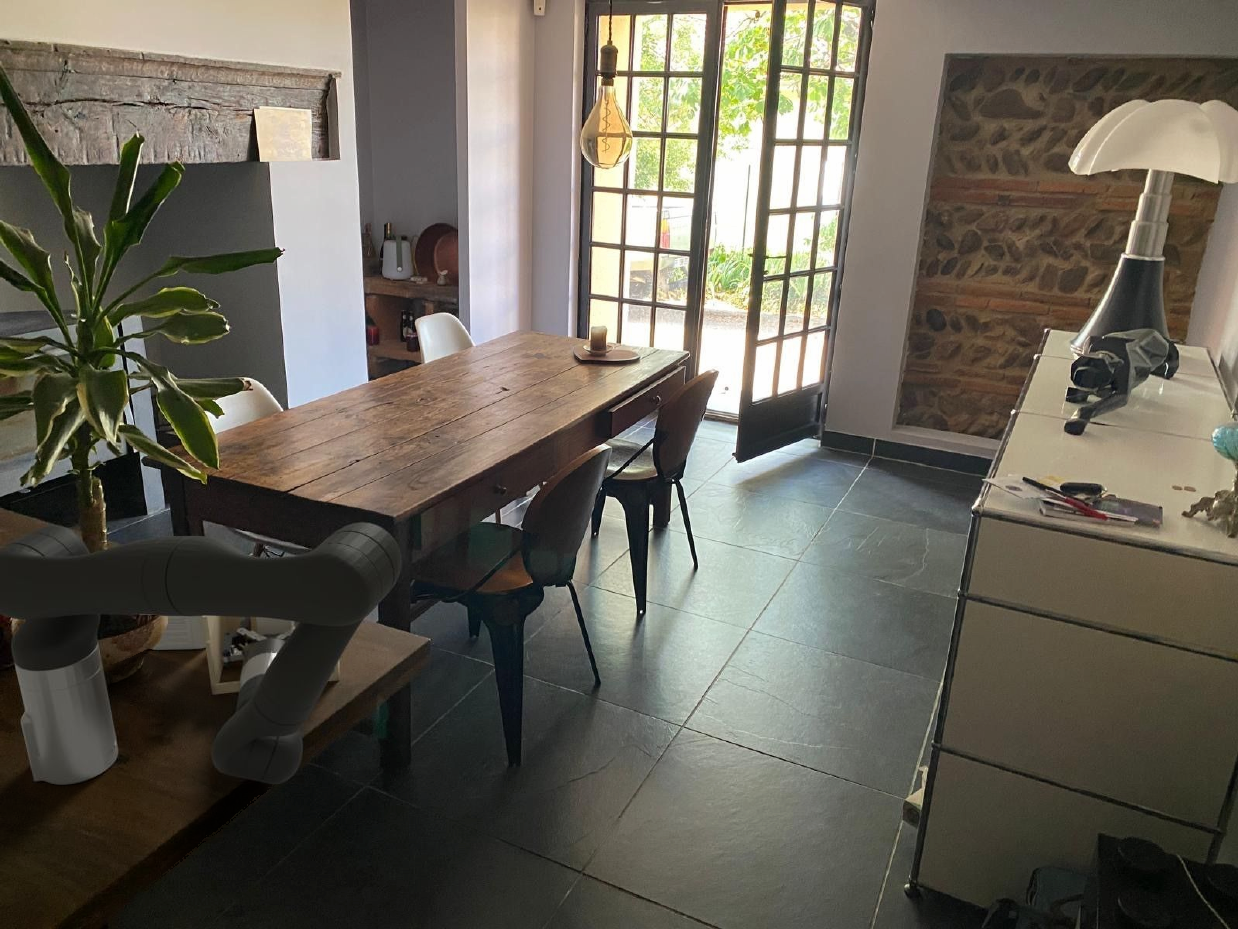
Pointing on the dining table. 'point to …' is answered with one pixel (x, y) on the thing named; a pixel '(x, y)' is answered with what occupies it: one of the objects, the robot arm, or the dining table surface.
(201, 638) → the photo printer
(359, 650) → the dining table surface
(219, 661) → the storage bin
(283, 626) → the box
